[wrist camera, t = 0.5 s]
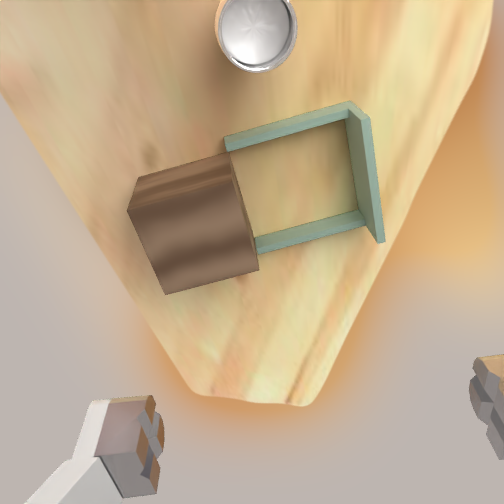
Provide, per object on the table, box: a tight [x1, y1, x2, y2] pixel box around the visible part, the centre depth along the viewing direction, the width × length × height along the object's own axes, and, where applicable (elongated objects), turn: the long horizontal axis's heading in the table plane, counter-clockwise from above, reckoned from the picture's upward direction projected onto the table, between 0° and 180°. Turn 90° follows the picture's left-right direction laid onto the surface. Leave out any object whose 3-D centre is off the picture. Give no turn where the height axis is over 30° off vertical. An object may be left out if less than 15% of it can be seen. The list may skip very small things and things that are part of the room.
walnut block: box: [127, 152, 259, 295], centre depth 57 cm, size 12×12×10 cm
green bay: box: [224, 101, 386, 254], centre depth 57 cm, size 16×16×8 cm
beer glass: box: [215, 0, 298, 73], centre depth 43 cm, size 7×7×15 cm
